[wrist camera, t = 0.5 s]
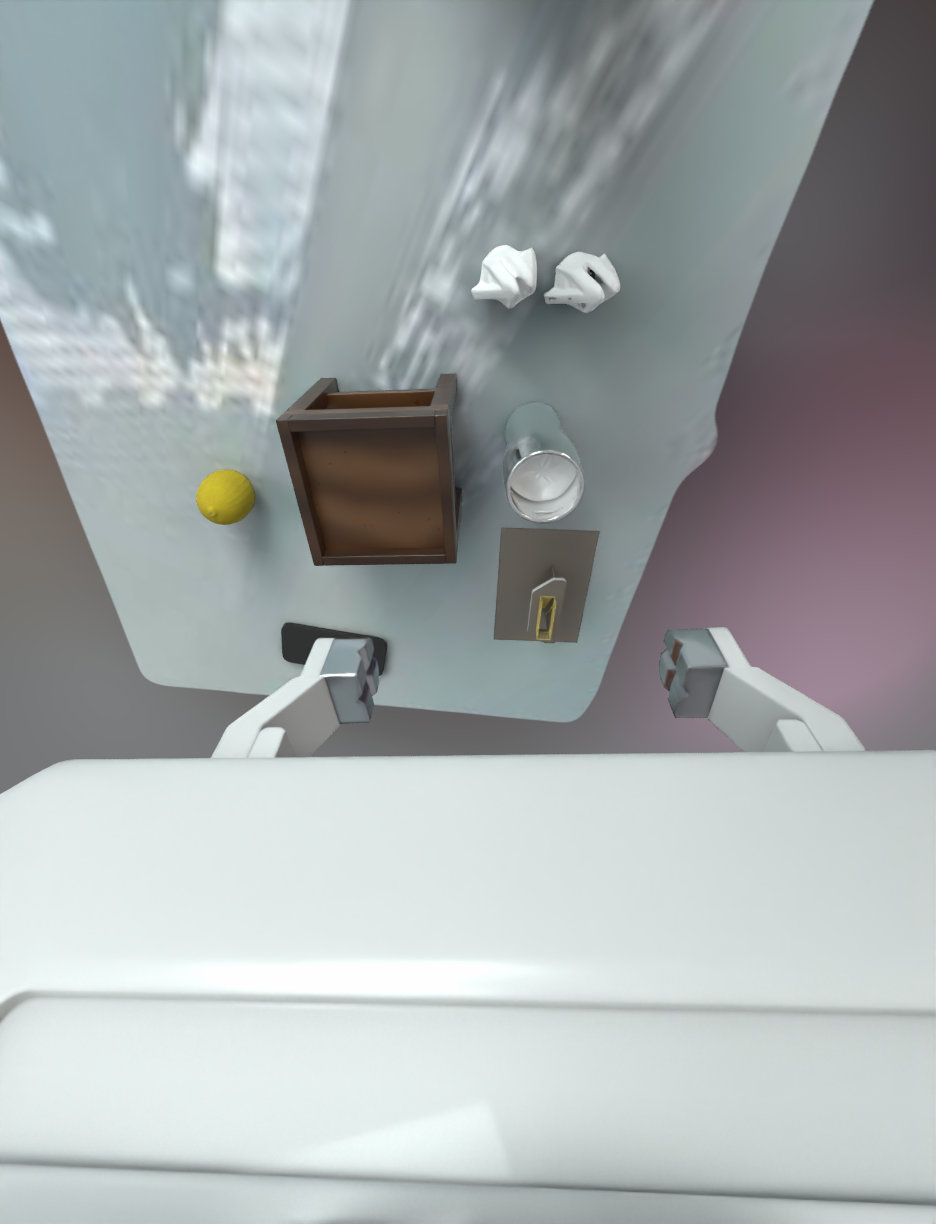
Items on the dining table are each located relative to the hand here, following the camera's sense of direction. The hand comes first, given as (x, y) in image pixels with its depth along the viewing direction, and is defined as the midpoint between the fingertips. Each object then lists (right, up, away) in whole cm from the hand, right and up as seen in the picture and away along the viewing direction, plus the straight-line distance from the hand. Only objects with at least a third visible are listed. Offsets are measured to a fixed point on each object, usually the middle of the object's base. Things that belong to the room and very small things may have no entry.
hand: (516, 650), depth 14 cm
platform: (+9, +4, +53) cm, 54 cm away
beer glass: (+6, +21, +41) cm, 46 cm away
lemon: (-28, +16, +46) cm, 56 cm away
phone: (-21, -4, +61) cm, 65 cm away
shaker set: (+5, +32, +32) cm, 46 cm away
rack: (-9, +20, +42) cm, 47 cm away
